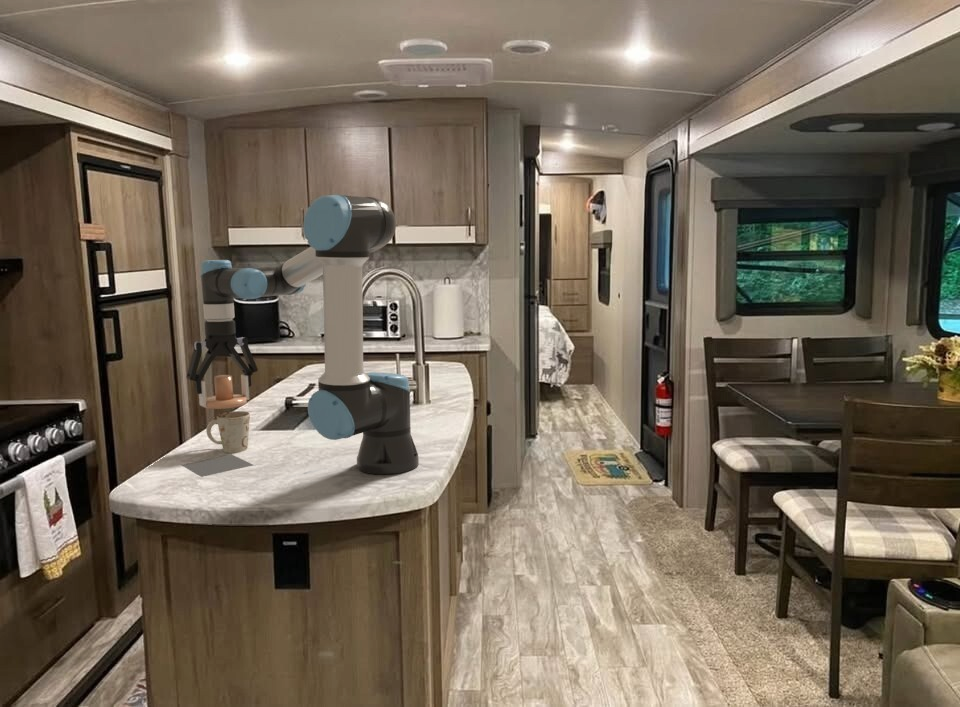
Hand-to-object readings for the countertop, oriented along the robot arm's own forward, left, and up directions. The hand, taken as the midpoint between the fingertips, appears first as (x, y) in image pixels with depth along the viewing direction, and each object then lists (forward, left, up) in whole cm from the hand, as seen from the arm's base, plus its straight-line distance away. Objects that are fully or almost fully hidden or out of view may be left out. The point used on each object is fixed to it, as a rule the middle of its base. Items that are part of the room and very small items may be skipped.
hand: (224, 402), depth 197 cm
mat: (-12, +8, -13) cm, 20 cm away
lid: (0, 0, 0) cm, 0 cm away
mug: (0, 0, -13) cm, 13 cm away
